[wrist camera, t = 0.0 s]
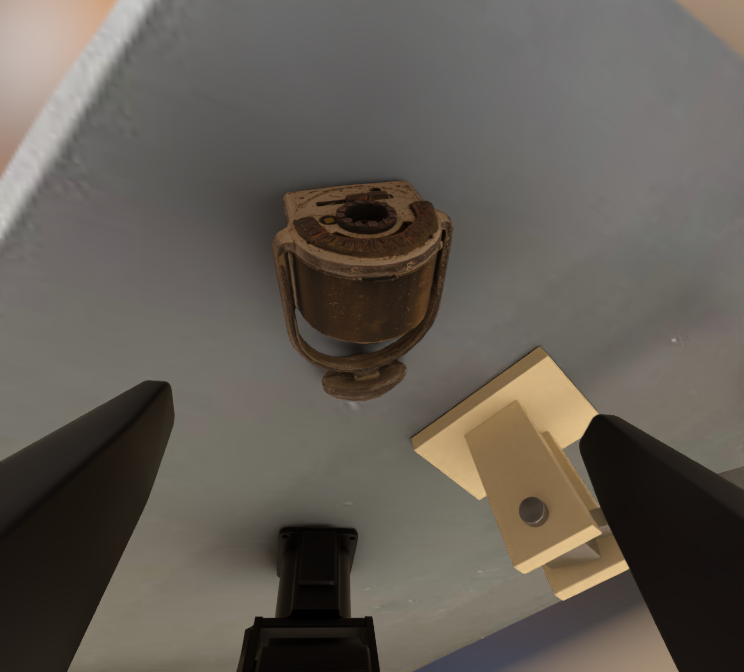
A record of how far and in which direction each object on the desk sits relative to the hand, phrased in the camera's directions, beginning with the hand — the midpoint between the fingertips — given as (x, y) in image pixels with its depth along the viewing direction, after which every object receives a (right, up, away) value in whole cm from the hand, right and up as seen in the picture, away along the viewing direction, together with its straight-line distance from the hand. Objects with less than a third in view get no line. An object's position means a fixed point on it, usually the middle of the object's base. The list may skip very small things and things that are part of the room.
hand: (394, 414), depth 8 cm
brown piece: (-2, +5, +14) cm, 15 cm away
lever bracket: (+9, -5, +20) cm, 23 cm away
